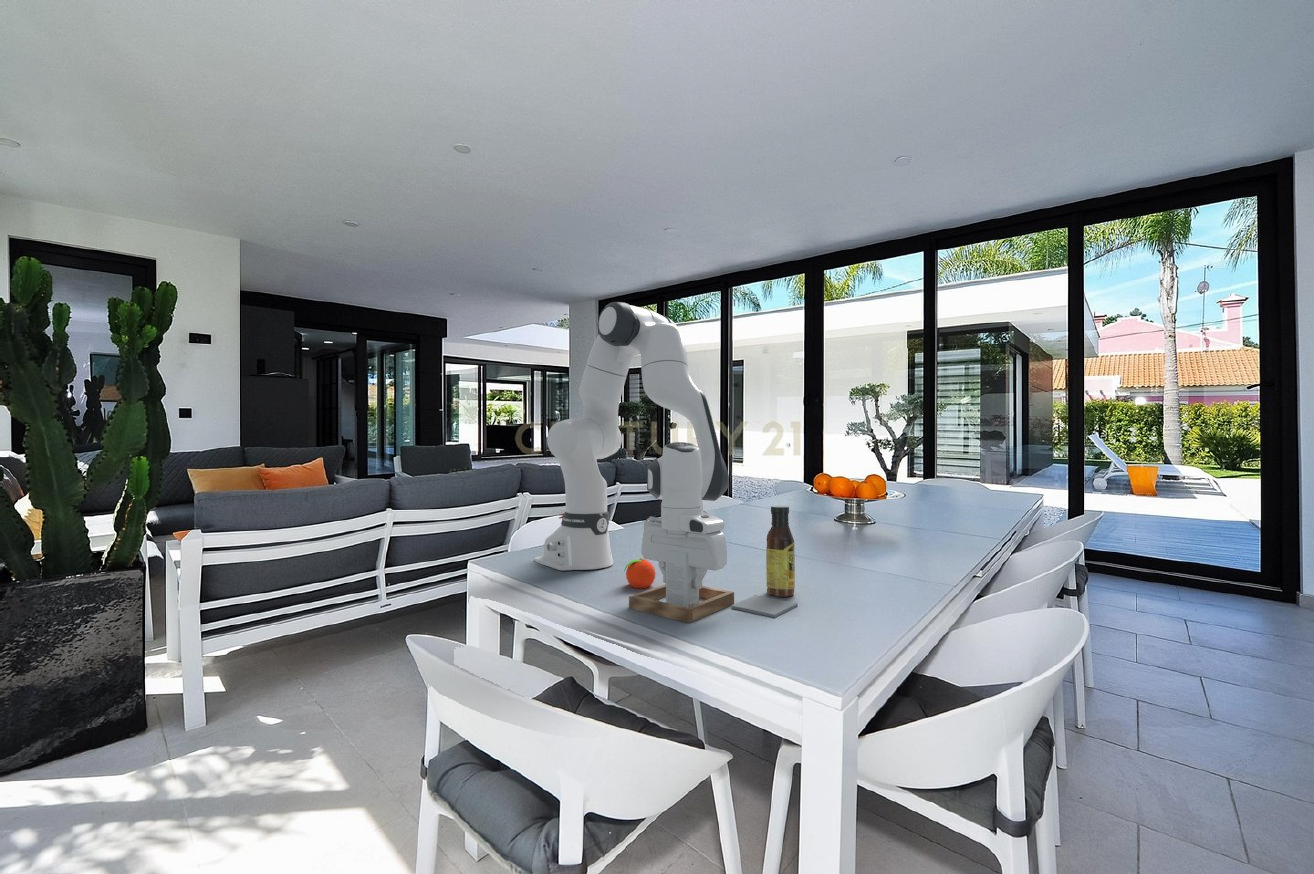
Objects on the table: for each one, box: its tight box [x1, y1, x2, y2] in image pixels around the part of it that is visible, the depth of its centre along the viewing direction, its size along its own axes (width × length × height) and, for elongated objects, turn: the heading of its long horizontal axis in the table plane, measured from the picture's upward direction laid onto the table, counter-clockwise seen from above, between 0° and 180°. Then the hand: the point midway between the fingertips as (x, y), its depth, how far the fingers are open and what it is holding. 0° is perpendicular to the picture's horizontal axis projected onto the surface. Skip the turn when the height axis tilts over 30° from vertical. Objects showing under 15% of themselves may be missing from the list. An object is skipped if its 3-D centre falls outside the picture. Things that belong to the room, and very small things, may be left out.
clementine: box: [623, 558, 656, 589], centre depth 137 cm, size 8×7×7 cm
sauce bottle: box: [765, 505, 796, 598], centre depth 132 cm, size 7×6×20 cm
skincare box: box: [665, 550, 700, 607], centre depth 124 cm, size 6×4×12 cm
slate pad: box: [730, 594, 798, 619], centre depth 123 cm, size 10×10×1 cm
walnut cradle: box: [628, 583, 735, 624], centre depth 124 cm, size 15×16×2 cm
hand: (682, 585), depth 124 cm, fingers closed on skincare box, 6 cm apart
